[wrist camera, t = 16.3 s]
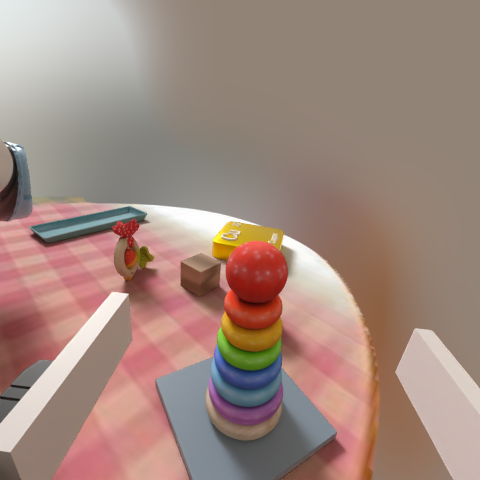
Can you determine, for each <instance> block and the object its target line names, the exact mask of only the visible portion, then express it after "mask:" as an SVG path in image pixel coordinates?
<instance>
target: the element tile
mask: <svg viewBox="0 0 480 480" xmlns="http://www.w3.org/2000/svg"><path fill="white" fill-rule="evenodd" d="M283 235H284V233H283V231H282V230H280V229H274V228H268V227H262V226H257V225H251V224H245V223H239V222H229V223H227V224H226V225H225V226H224V227H223V228H222V229H221V231H220V232H219V233H218V234H217V235H216V236H215V237H214V239H213V251H212V255H213V256H214V257H215V258H218V259H223V260H228V258H229V256H230V255H231V253H232V252H233V251H234V250H235V249H236V248H237V247H238V246H240V245H242V244H244V243H246V242H250V241H263V242H267V243H269V244H271V245H273V246H275V247H276V248H277V249H278V250H279V251H281V247H282V241H283Z"/></svg>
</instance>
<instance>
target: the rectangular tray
mask: <svg viewBox="0 0 480 480" xmlns="http://www.w3.org/2000/svg"><path fill="white" fill-rule="evenodd" d="M146 215H147V213H146V212H143V211H141V210H138V209H136V208H133V207H131V206H128V207H123V208H118V209H113V210H108V211H104V212H99V213H94V214H89V215H83V216H78V217H73V218H68V219H63V220H58V221H53V222H48V223H43V224H38V225H34V226H30V227H29V228H30V229H31V230H32V231H33V232H34V233H35V234H36V235H38V236H39V237H40V238H42V239H43V240H44V241H46V242H47V243H52V242H56V241H60V240H64V239H68V238H72V237H76V236H81V235H85V234H89V233H93V232H97V231H101V230H105V229H109V228H112V227H113V226H116V225H117V222H118V221H120V222H122V223H124V224H126V223H128V222H130V221H132V220H133V219H136V220H137V222H138V221H142V220H144V218H145V217H146Z"/></svg>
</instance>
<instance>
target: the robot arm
mask: <svg viewBox="0 0 480 480" xmlns="http://www.w3.org/2000/svg"><path fill="white" fill-rule="evenodd" d="M31 213H32V196H31V185H30V177H29V170H28V164H27V158H26V154H25V151H24V149H23V147H22V146H20V145H18V144H12V143H10V142H3V141H2V140H1V139H0V221H6V222H7V221H11V220H15V219H22V218H26V217H28V216H29V215H30V214H31ZM131 341H132V329H131V316H130V303H129V294H126V293H118V292H112V293H111V294H110V295H109V297H108V298H107V299H106V300H105V301H104V302H103V304H102V305H101V306H100V307H99V308H98V309H97V311H96V312H95V313H94V314H93V315H92V316H91V318H90V319H89V320H88V321H87V322H86V324H85V325H84V326H83V327H82V328H81V329H80V331H79V332H78V333H77V334H76V335H75V336H74V338H73V339H72V340H71V341H70V342H69V343H68V345H67V346H66V347H65V348H64V349H63V351H62V352H61V353H60V354H59V355H58V356H57V358H56V359H55V360H54V361H50V360H42V359H40V360H39V361H37V362H36V363H34V364H33V365H31V366H30V367H28V368H27V369H25V370H24V371H23V372H22V373H21V374H20V375H19V376H18V377H17V378H16V379H15V381H14V382H13V383H12V384H11V386H10V387H8V388H7V389H6V390H5V391H4V392H3V393H2V394H1V395H0V480H52V478H53V476H54V475H55V473H56V471H57V469H58V468H59V466H60V464H61V462H62V461H63V459H64V457H65V456H66V454H67V452H68V450H69V449H70V447H71V445H72V443H73V442H74V440H75V438H76V436H77V435H78V433H79V431H80V430H81V428H82V426H83V424H84V423H85V421H86V419H87V417H88V416H89V414H90V412H91V410H92V409H93V407H94V405H95V404H96V402H97V400H98V398H99V397H100V395H101V393H102V391H103V390H104V388H105V386H106V384H107V383H108V381H109V379H110V378H111V376H112V374H113V372H114V371H115V369H116V367H117V365H118V364H119V362H120V360H121V358H122V357H123V355H124V353H125V351H126V350H127V348H128V346H129V345H130V343H131ZM395 373H396V374H397V376H398V378H399V380H400V382H401V384H402V386H403V387H404V389H405V391H406V393H407V395H408V397H409V399H410V400H411V402H412V404H413V406H414V408H415V410H416V412H417V413H418V415H419V417H420V419H421V421H422V423H423V424H424V426H425V428H426V430H427V432H428V434H429V436H430V437H431V439H432V441H433V443H434V445H435V447H436V448H437V450H438V452H439V454H440V456H441V458H442V459H443V461H444V463H445V465H446V467H447V469H448V471H449V473H450V475H451V476H452V478H453V480H480V388H479V387H478V386H477V385H476V383H475V382H474V381H473V380H472V378H471V377H470V376H469V375H468V374H467V372H466V371H465V370H464V369H463V367H462V366H461V365H460V364H459V363H458V361H457V360H456V359H455V358H454V357H453V355H452V354H451V353H450V352H449V350H448V349H447V348H446V347H445V346H444V344H443V343H442V342H441V341H440V339H439V338H438V337H437V336H436V335H435V333H434V332H433V331H432V330H425V329H416V328H415V330H414V332H413V334H412V336H411V338H410V340H409V343H408V345H407V347H406V349H405V352H404V354H403V356H402V358H401V361H400V363H399V365H398V367H397V370H396V372H395Z"/></svg>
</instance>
